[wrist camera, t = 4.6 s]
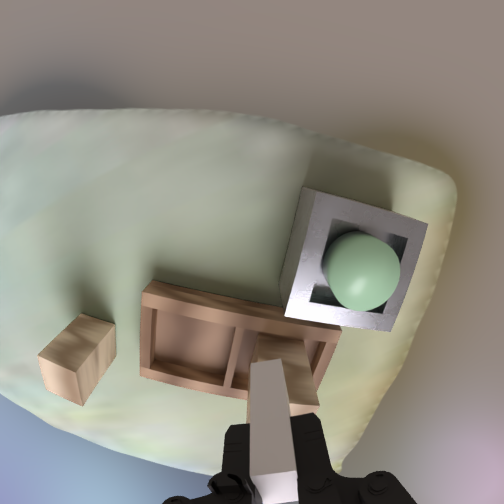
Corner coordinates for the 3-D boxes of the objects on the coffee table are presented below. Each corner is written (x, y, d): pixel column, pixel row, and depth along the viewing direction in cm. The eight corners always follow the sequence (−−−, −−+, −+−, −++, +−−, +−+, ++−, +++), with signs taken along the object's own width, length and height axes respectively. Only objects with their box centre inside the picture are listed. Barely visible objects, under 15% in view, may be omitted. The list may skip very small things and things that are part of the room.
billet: (83, 345, 33) (46, 389, 23) (81, 313, 31) (37, 355, 22) (116, 356, 33) (82, 406, 23) (114, 324, 32) (75, 372, 22)
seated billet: (248, 369, 31) (245, 436, 22) (258, 334, 30) (258, 399, 20) (291, 376, 32) (300, 441, 22) (303, 341, 30) (319, 405, 21)
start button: (314, 289, 24) (322, 305, 21) (333, 224, 22) (343, 231, 20) (373, 300, 24) (385, 315, 21) (392, 239, 23) (409, 248, 20)
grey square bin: (278, 284, 30) (284, 316, 23) (302, 186, 27) (316, 191, 20) (366, 300, 30) (390, 331, 23) (393, 211, 27) (428, 223, 21)
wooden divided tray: (148, 360, 33) (139, 375, 30) (152, 280, 30) (142, 291, 27) (305, 390, 34) (309, 407, 30) (334, 316, 31) (342, 331, 28)
